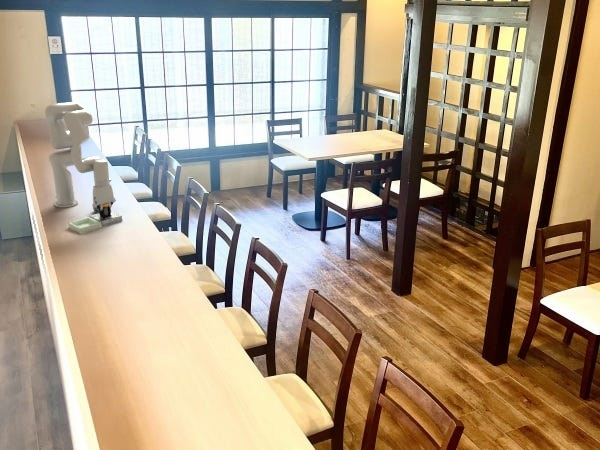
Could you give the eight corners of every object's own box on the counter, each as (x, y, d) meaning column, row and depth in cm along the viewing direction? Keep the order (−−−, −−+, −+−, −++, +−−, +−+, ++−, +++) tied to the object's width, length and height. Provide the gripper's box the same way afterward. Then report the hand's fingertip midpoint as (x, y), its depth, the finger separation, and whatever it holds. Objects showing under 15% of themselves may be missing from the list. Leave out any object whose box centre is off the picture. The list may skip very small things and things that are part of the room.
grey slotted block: (90, 221, 304) (89, 215, 302) (109, 215, 312) (109, 210, 311) (102, 226, 296) (101, 221, 295) (122, 220, 305) (121, 215, 304)
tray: (68, 227, 294) (67, 222, 293) (89, 221, 302) (88, 217, 301) (80, 233, 286) (80, 228, 285) (101, 227, 295) (101, 222, 294)
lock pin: (99, 220, 304) (98, 203, 300) (107, 218, 307) (105, 201, 304) (104, 222, 301) (102, 205, 298) (112, 220, 305) (110, 203, 301)
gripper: (111, 178, 305) (115, 209, 311) (83, 184, 293) (87, 217, 300) (119, 181, 300) (122, 213, 307) (91, 187, 288) (95, 221, 295)
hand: (105, 215), depth 303 cm, fingers closed on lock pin, 3 cm apart
